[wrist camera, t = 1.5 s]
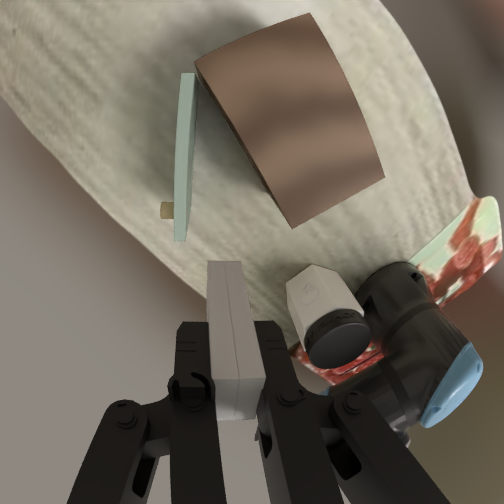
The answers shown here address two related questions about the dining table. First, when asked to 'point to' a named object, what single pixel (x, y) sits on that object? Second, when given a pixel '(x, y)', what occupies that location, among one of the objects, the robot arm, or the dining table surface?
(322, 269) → the jar
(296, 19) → the case
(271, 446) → the robot arm
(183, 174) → the door
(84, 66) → the dining table surface
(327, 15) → the dining table surface
